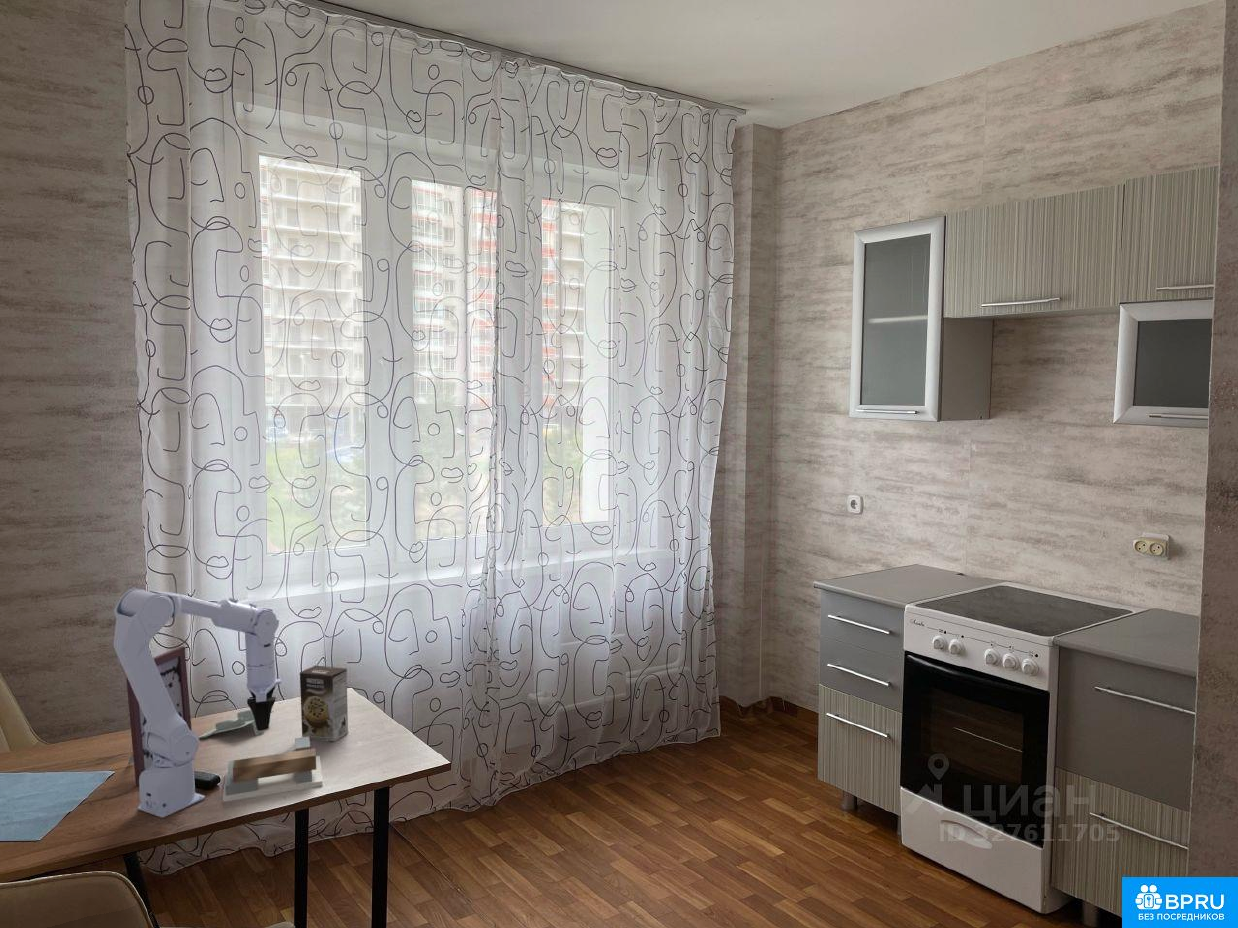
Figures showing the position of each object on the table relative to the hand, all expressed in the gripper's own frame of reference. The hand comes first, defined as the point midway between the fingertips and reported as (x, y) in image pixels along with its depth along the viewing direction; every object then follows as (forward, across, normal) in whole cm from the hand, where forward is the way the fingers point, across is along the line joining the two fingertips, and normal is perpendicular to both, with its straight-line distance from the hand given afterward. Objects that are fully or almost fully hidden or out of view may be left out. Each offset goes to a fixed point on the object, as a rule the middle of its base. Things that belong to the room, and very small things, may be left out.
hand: (263, 723), depth 192 cm
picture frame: (+10, +10, +24) cm, 28 cm away
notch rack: (+10, -8, -2) cm, 13 cm away
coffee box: (+10, +14, -13) cm, 22 cm away
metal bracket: (+11, +26, +6) cm, 28 cm away
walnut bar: (+7, -11, -2) cm, 13 cm away
